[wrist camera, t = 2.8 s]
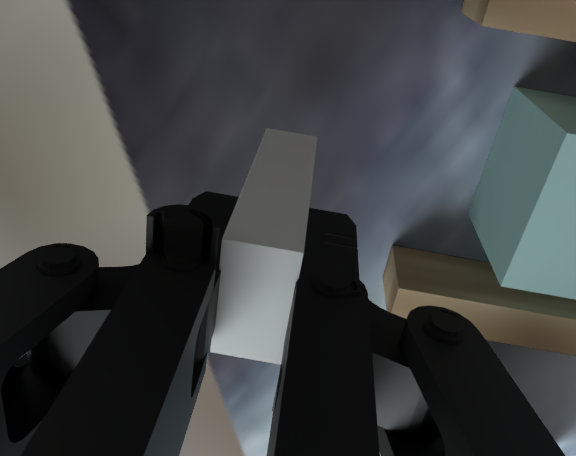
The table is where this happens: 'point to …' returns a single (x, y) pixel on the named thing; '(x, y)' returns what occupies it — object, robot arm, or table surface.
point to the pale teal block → (531, 195)
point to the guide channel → (477, 274)
